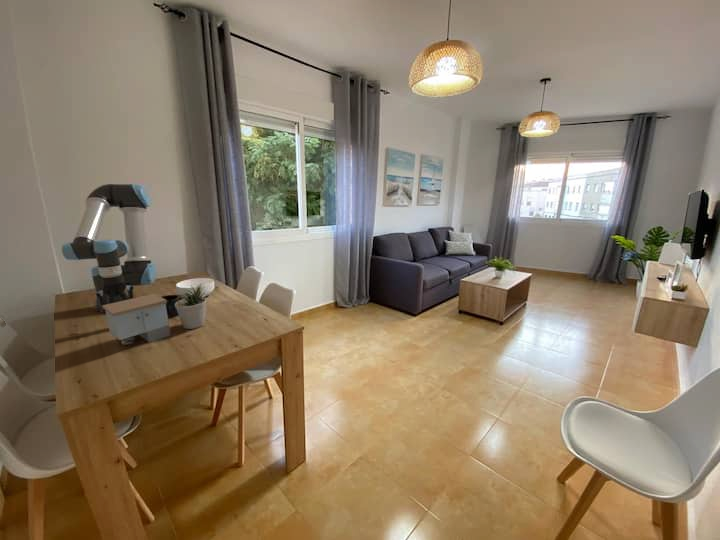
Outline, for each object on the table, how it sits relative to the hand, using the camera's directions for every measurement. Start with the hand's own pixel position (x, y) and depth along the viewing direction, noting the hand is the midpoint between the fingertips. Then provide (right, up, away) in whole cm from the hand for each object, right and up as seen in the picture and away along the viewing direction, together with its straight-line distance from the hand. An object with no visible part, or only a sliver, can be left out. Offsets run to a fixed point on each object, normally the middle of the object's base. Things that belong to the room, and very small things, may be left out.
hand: (121, 324), depth 134 cm
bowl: (+12, +9, +41) cm, 43 cm away
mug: (+14, +2, +13) cm, 19 cm away
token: (+14, -5, -14) cm, 20 cm away
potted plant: (+32, -1, +2) cm, 32 cm away
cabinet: (+17, -4, -11) cm, 21 cm away
